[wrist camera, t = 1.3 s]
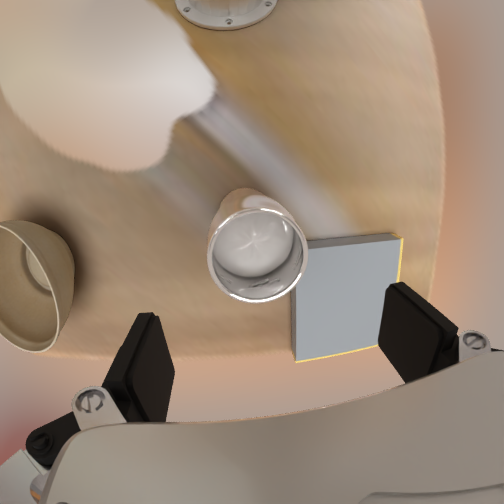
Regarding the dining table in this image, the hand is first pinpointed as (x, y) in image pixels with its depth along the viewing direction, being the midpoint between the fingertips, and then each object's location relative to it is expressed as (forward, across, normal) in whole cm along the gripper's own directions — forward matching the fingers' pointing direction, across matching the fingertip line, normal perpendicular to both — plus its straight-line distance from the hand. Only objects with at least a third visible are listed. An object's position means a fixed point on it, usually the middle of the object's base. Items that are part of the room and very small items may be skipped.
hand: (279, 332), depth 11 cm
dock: (+23, -12, +12) cm, 28 cm away
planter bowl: (+23, +28, +2) cm, 36 cm away
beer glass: (+23, 0, 0) cm, 23 cm away
